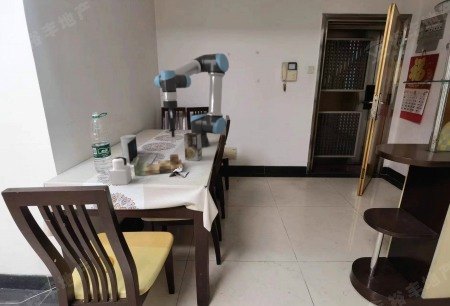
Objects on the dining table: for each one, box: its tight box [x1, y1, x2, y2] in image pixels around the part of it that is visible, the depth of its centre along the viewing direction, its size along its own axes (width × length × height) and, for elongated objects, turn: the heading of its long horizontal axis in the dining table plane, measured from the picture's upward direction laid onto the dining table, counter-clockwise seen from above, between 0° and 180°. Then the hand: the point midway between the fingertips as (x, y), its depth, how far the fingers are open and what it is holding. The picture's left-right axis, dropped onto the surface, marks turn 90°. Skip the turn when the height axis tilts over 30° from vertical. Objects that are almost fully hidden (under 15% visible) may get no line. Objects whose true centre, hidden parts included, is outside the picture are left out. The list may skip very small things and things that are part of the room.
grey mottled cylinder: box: [119, 134, 139, 157], centre depth 156 cm, size 10×10×12 cm
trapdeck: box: [133, 157, 184, 177], centre depth 129 cm, size 24×15×6 cm, turn 103°
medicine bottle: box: [109, 156, 132, 186], centre depth 111 cm, size 7×7×12 cm
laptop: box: [127, 136, 157, 166], centre depth 144 cm, size 18×12×13 cm
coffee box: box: [183, 132, 203, 162], centre depth 145 cm, size 9×6×16 cm
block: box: [169, 153, 179, 165], centre depth 131 cm, size 4×4×4 cm
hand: (173, 142), depth 136 cm, fingers closed
